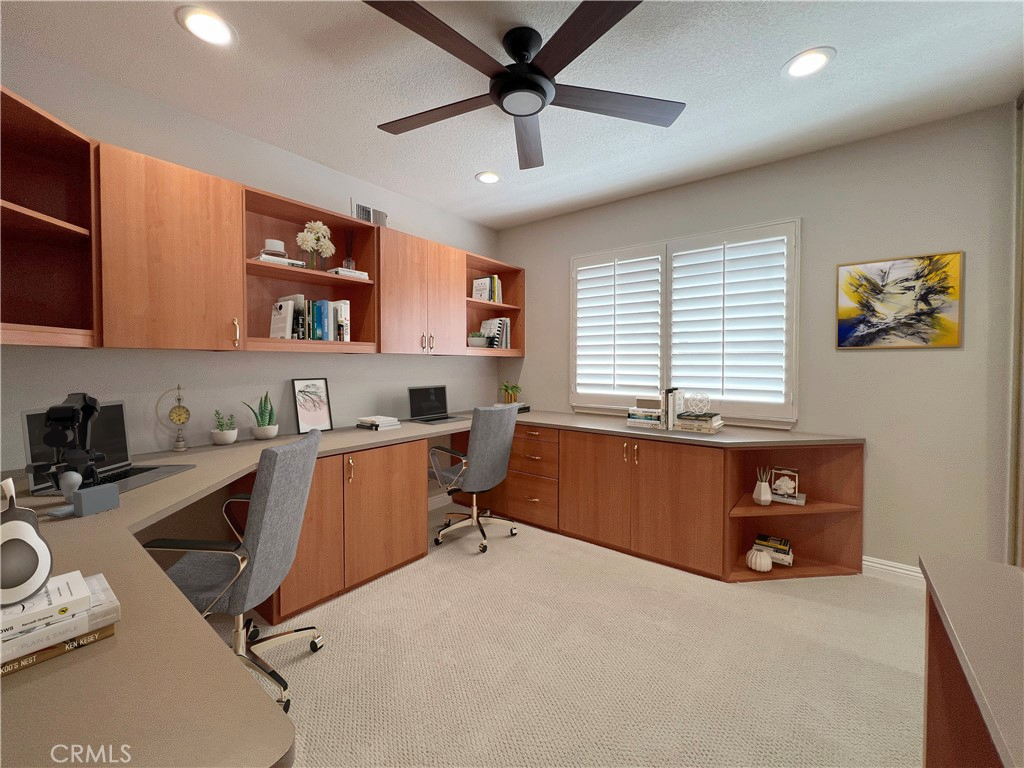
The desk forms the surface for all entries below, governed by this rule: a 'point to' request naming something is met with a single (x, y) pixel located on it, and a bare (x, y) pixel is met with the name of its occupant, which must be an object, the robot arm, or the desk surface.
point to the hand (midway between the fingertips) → (69, 487)
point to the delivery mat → (62, 511)
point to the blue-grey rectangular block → (95, 499)
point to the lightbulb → (69, 484)
